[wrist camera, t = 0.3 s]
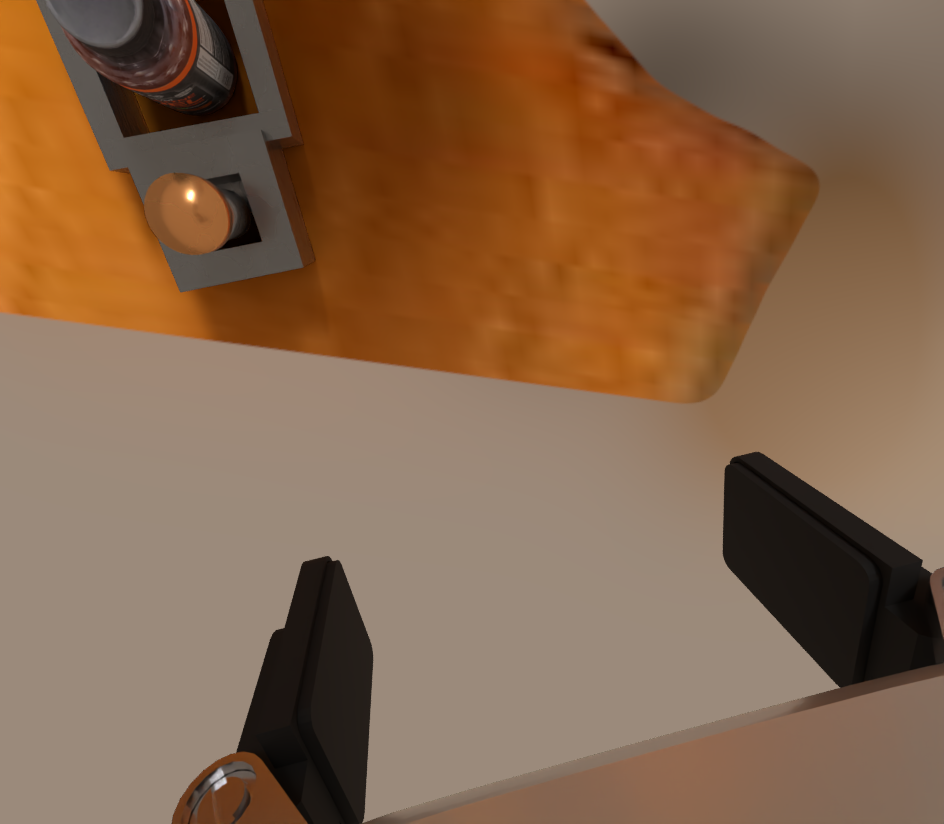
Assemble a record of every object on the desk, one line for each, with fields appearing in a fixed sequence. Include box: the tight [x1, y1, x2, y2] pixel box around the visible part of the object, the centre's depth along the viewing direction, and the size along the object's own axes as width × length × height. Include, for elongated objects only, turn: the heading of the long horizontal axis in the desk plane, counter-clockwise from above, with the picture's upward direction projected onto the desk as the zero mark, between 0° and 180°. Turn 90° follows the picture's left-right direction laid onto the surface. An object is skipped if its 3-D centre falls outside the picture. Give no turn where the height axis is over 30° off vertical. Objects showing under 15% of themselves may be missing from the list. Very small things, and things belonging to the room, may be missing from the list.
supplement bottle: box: [45, 0, 237, 116], centre depth 26 cm, size 6×6×11 cm
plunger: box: [144, 173, 251, 255], centre depth 28 cm, size 4×4×6 cm
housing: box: [36, 0, 315, 292], centre depth 29 cm, size 26×11×5 cm, turn 11°
